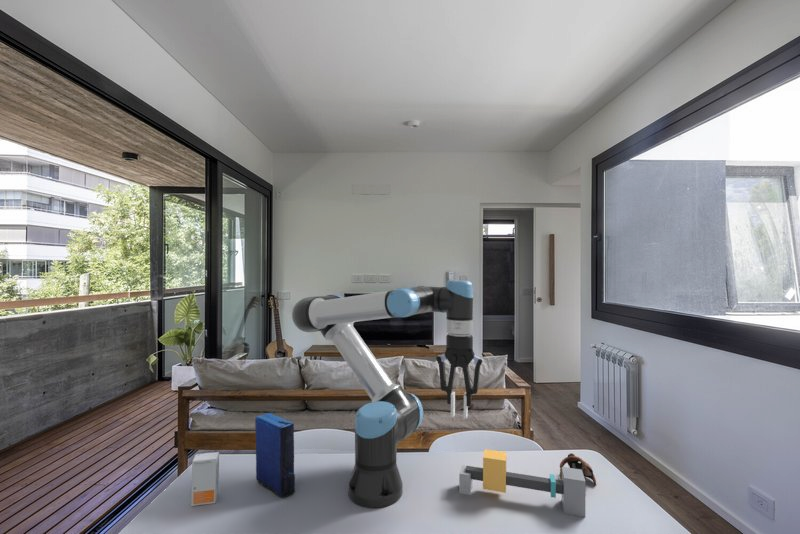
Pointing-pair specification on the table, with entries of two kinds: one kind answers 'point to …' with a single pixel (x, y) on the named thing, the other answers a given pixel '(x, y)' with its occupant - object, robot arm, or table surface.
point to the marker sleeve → (494, 470)
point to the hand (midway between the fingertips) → (459, 416)
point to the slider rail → (538, 485)
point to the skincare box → (205, 478)
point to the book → (275, 454)
